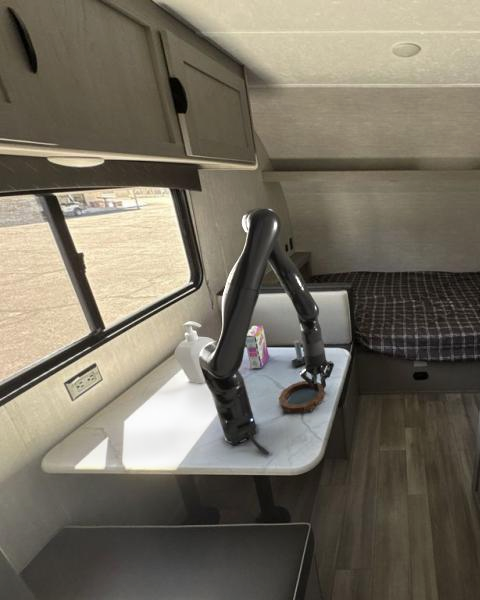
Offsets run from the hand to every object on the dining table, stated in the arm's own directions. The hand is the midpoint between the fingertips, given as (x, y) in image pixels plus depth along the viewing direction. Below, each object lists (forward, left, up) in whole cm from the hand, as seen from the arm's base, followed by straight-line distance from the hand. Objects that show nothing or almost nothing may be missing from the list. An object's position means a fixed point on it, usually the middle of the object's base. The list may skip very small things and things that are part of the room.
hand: (320, 388), depth 121 cm
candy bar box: (+38, +15, -2) cm, 41 cm away
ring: (0, +7, -1) cm, 7 cm away
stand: (+26, 0, -2) cm, 26 cm away
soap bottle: (+40, +37, -2) cm, 55 cm away
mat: (0, +7, -2) cm, 7 cm away
